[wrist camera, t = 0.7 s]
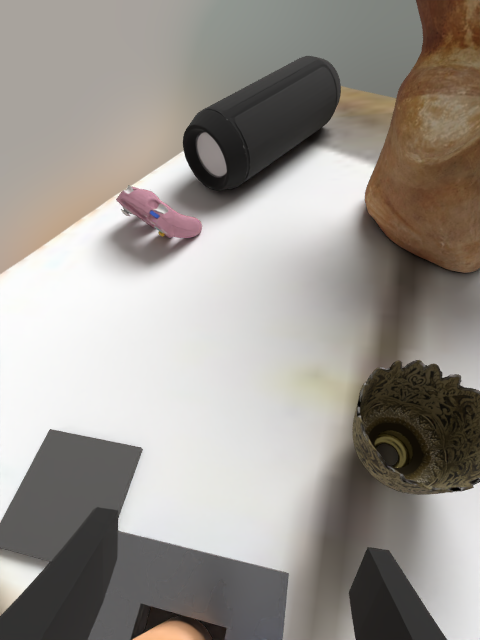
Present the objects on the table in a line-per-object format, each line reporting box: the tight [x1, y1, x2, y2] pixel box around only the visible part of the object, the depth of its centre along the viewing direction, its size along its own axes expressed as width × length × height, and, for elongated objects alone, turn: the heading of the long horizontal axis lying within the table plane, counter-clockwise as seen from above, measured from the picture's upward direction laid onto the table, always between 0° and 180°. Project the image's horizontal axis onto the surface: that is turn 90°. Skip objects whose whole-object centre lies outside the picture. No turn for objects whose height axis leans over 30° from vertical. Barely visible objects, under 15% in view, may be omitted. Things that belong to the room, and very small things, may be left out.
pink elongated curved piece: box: [116, 186, 202, 238], centre depth 40 cm, size 10×5×7 cm, turn 48°
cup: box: [353, 360, 480, 495], centre depth 22 cm, size 8×7×8 cm
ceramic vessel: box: [365, 0, 480, 273], centre depth 29 cm, size 16×22×30 cm
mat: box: [0, 429, 143, 562], centre depth 25 cm, size 8×8×1 cm
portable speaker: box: [183, 56, 341, 190], centre depth 48 cm, size 26×10×10 cm, turn 139°
